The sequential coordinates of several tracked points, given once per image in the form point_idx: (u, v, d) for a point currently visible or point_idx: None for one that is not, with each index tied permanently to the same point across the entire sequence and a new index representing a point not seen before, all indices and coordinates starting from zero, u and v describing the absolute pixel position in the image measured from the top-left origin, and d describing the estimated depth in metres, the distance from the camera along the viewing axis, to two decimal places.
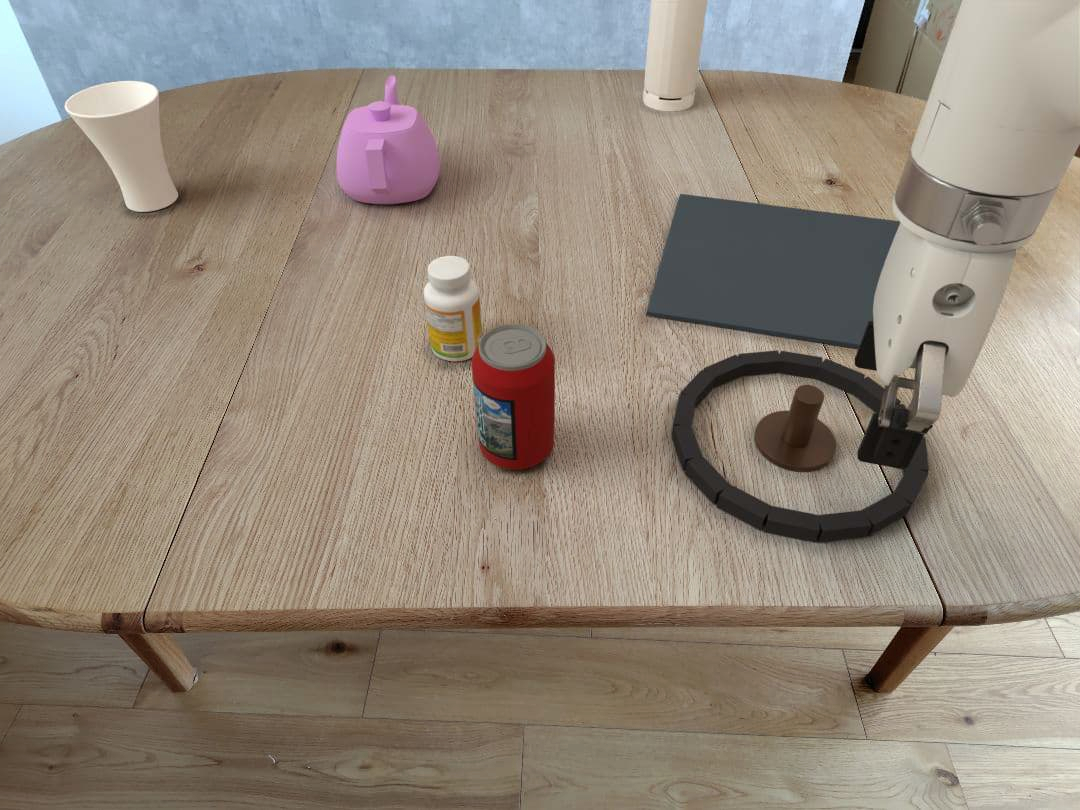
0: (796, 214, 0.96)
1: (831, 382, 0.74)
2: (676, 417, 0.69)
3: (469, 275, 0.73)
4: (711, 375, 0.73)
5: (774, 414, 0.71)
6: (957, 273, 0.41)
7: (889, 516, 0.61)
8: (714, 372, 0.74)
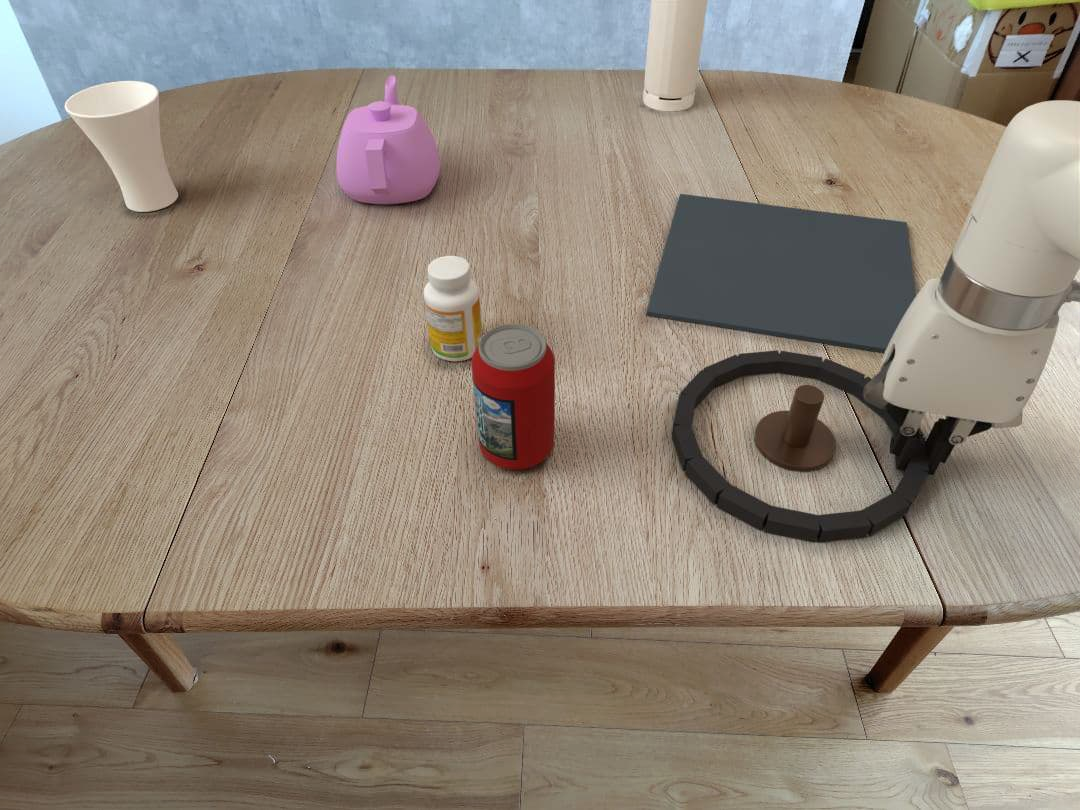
0: (796, 214, 0.96)
1: (831, 382, 0.74)
2: (676, 417, 0.69)
3: (469, 275, 0.73)
4: (711, 375, 0.73)
5: (774, 414, 0.71)
6: None
7: (889, 516, 0.61)
8: (714, 372, 0.74)
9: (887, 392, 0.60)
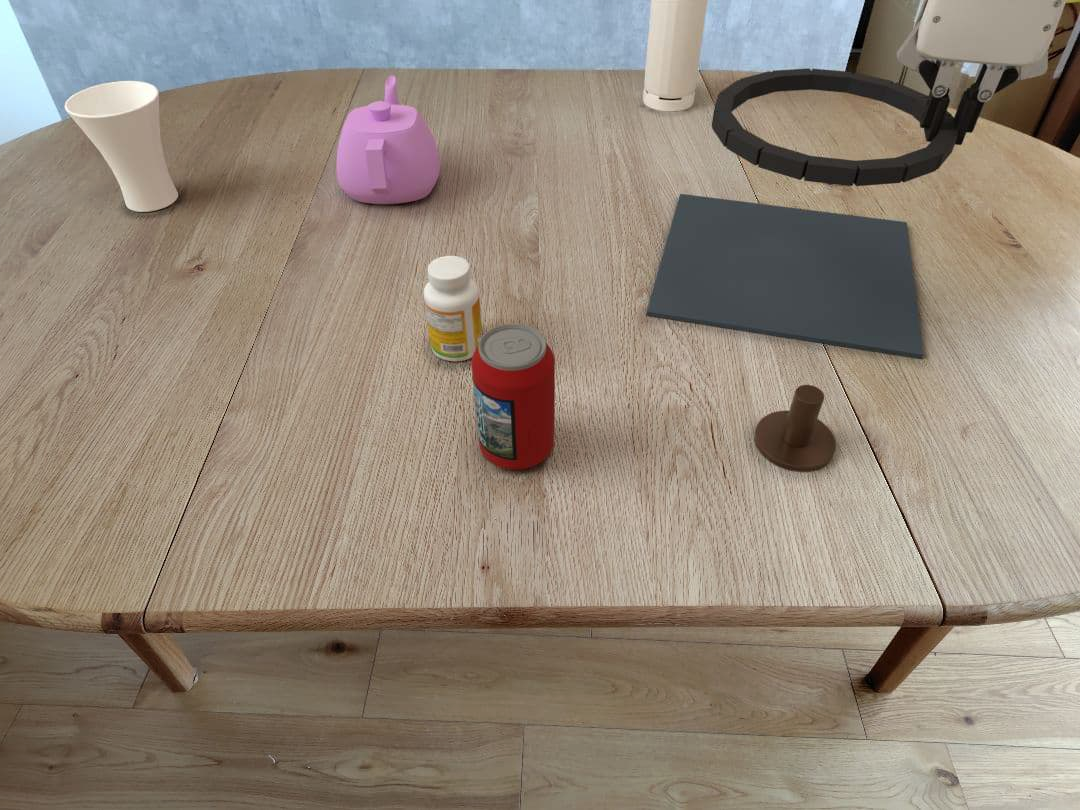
0: (796, 214, 0.96)
1: (861, 93, 0.78)
2: (716, 107, 0.73)
3: (469, 275, 0.73)
4: (747, 83, 0.77)
5: (774, 414, 0.71)
6: None
7: (922, 161, 0.65)
8: (750, 81, 0.77)
9: (920, 40, 0.64)
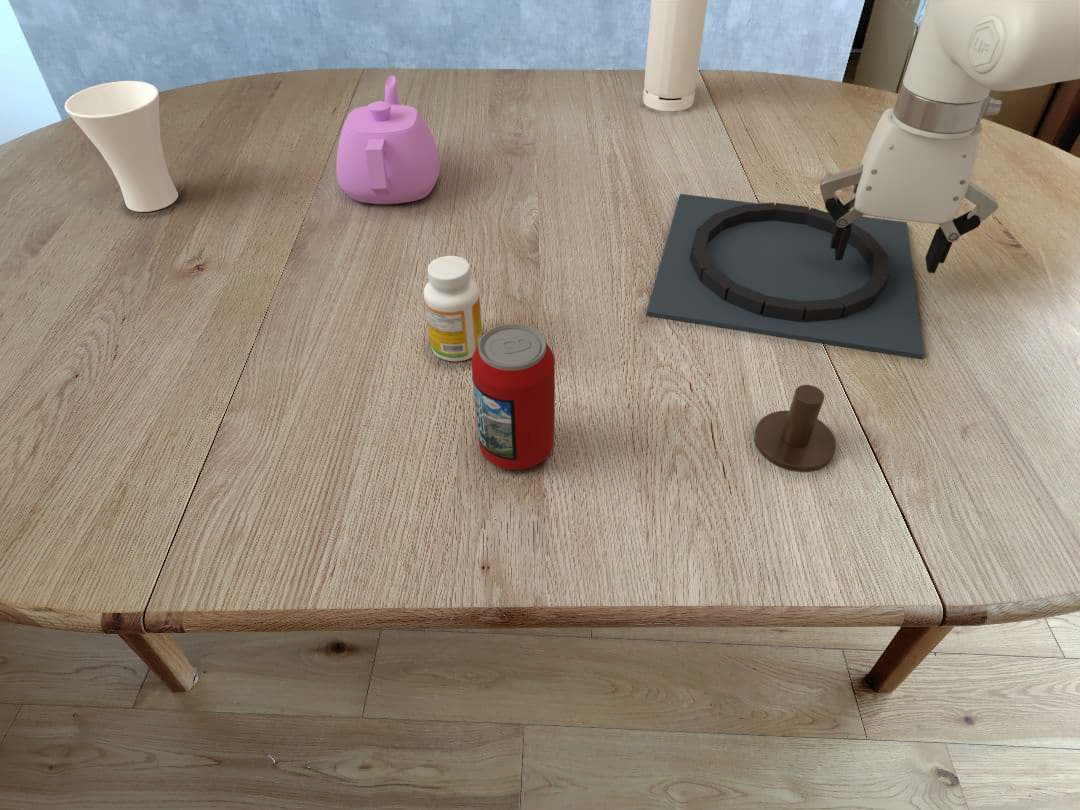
0: None
1: (816, 225, 0.94)
2: (694, 244, 0.89)
3: (469, 275, 0.73)
4: (721, 218, 0.93)
5: (774, 414, 0.71)
6: None
7: (857, 302, 0.80)
8: (723, 216, 0.93)
9: (857, 202, 0.79)
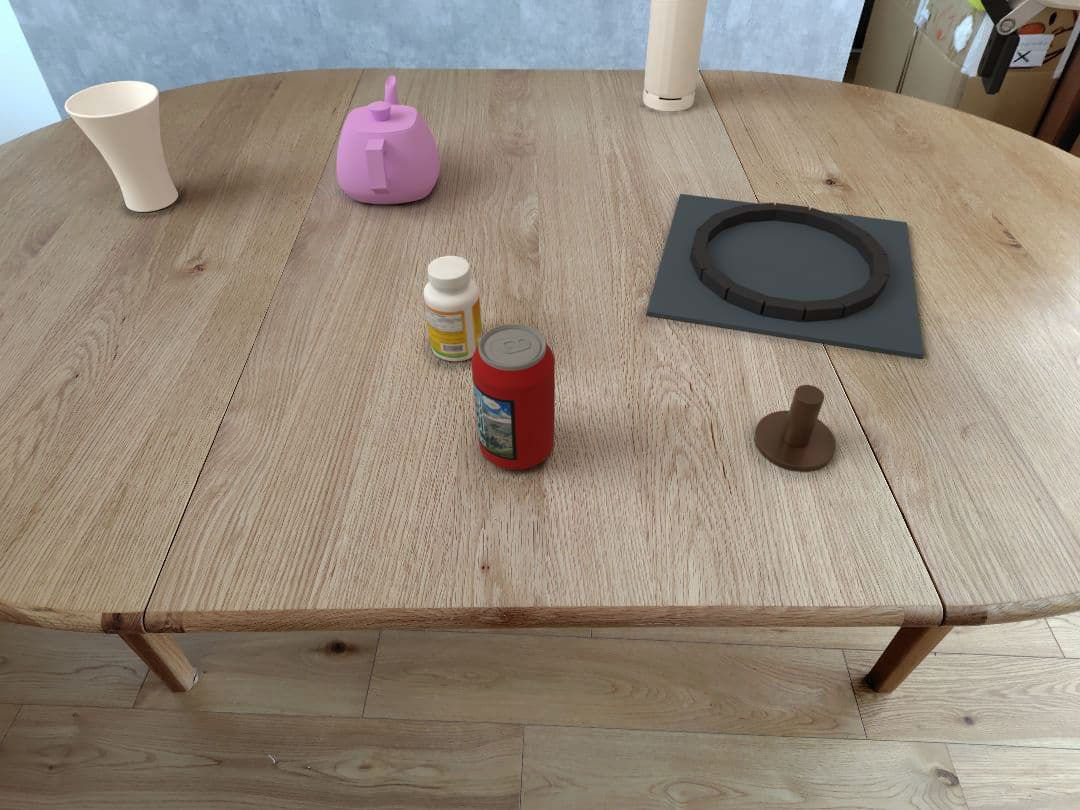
0: None
1: (816, 225, 0.94)
2: (694, 244, 0.89)
3: (469, 275, 0.73)
4: (721, 218, 0.93)
5: (774, 414, 0.71)
6: None
7: (857, 302, 0.80)
8: (723, 216, 0.93)
9: None
